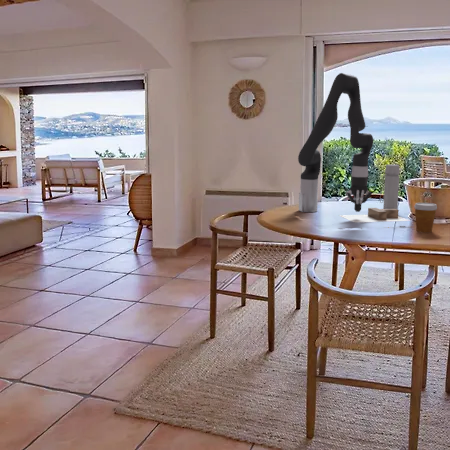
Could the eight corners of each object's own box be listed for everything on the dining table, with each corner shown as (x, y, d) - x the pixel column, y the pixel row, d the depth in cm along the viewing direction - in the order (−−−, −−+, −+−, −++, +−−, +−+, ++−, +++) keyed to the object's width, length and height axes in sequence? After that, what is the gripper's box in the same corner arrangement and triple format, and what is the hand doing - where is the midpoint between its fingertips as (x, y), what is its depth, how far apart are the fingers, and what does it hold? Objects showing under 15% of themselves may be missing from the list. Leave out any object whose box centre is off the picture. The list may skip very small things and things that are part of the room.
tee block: (378, 220, 260) (378, 211, 259) (367, 215, 272) (368, 208, 271) (402, 219, 262) (402, 211, 261) (390, 215, 274) (391, 207, 273)
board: (354, 225, 254) (354, 222, 254) (338, 217, 274) (338, 215, 273) (410, 223, 259) (410, 220, 259) (390, 216, 278) (391, 213, 278)
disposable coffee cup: (408, 229, 244) (410, 202, 242) (429, 228, 245) (431, 202, 243) (418, 233, 235) (419, 205, 233) (439, 233, 236) (441, 205, 233)
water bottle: (397, 211, 292) (400, 164, 287) (397, 214, 285) (400, 165, 280) (379, 210, 295) (382, 164, 290) (378, 213, 288) (381, 165, 283)
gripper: (369, 174, 266) (367, 210, 269) (343, 174, 263) (341, 210, 267) (376, 176, 258) (373, 212, 262) (349, 176, 256) (347, 213, 259)
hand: (357, 211), depth 264 cm, fingers closed
